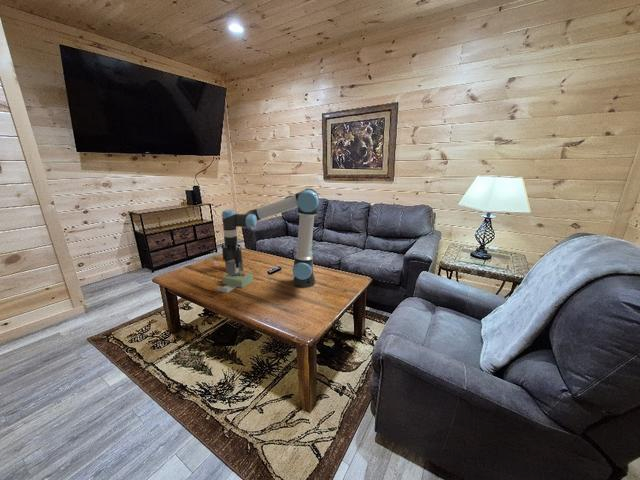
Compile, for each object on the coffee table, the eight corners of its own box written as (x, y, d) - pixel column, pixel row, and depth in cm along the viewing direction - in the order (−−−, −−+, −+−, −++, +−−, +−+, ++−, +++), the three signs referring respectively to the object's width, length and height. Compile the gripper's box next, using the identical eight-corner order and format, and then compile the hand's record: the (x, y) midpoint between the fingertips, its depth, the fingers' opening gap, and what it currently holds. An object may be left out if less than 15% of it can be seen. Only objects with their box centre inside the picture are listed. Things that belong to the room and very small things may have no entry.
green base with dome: (253, 280, 184) (252, 268, 181) (232, 294, 165) (230, 281, 162) (234, 277, 190) (233, 265, 187) (212, 289, 171) (210, 276, 168)
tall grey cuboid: (239, 270, 168) (239, 260, 166) (232, 274, 162) (231, 264, 160) (233, 269, 170) (232, 259, 168) (226, 273, 163) (225, 262, 161)
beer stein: (246, 267, 207) (242, 243, 201) (241, 273, 196) (237, 247, 191) (227, 268, 208) (223, 244, 203) (221, 273, 198) (217, 248, 193)
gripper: (246, 236, 159) (248, 271, 166) (222, 232, 166) (225, 267, 172) (238, 239, 153) (241, 276, 159) (214, 235, 159) (217, 271, 165)
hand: (233, 271), depth 166 cm, fingers closed on tall grey cuboid, 5 cm apart
